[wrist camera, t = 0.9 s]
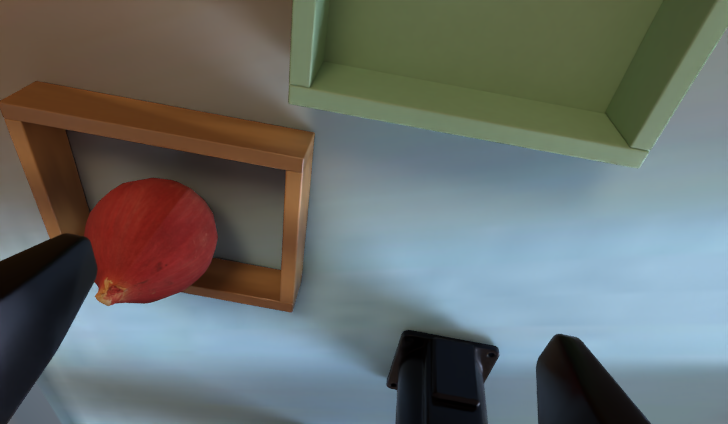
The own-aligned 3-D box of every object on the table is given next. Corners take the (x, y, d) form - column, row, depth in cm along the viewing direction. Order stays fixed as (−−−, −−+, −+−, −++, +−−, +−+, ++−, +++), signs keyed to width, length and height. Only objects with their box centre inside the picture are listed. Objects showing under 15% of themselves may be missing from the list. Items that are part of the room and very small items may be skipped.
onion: (242, 240, 27) (184, 357, 20) (147, 227, 27) (61, 339, 20) (232, 155, 23) (158, 265, 17) (122, 141, 23) (8, 244, 17)
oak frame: (301, 282, 28) (292, 313, 26) (87, 242, 28) (61, 270, 26) (315, 132, 22) (304, 158, 20) (35, 80, 22) (-4, 101, 20)
